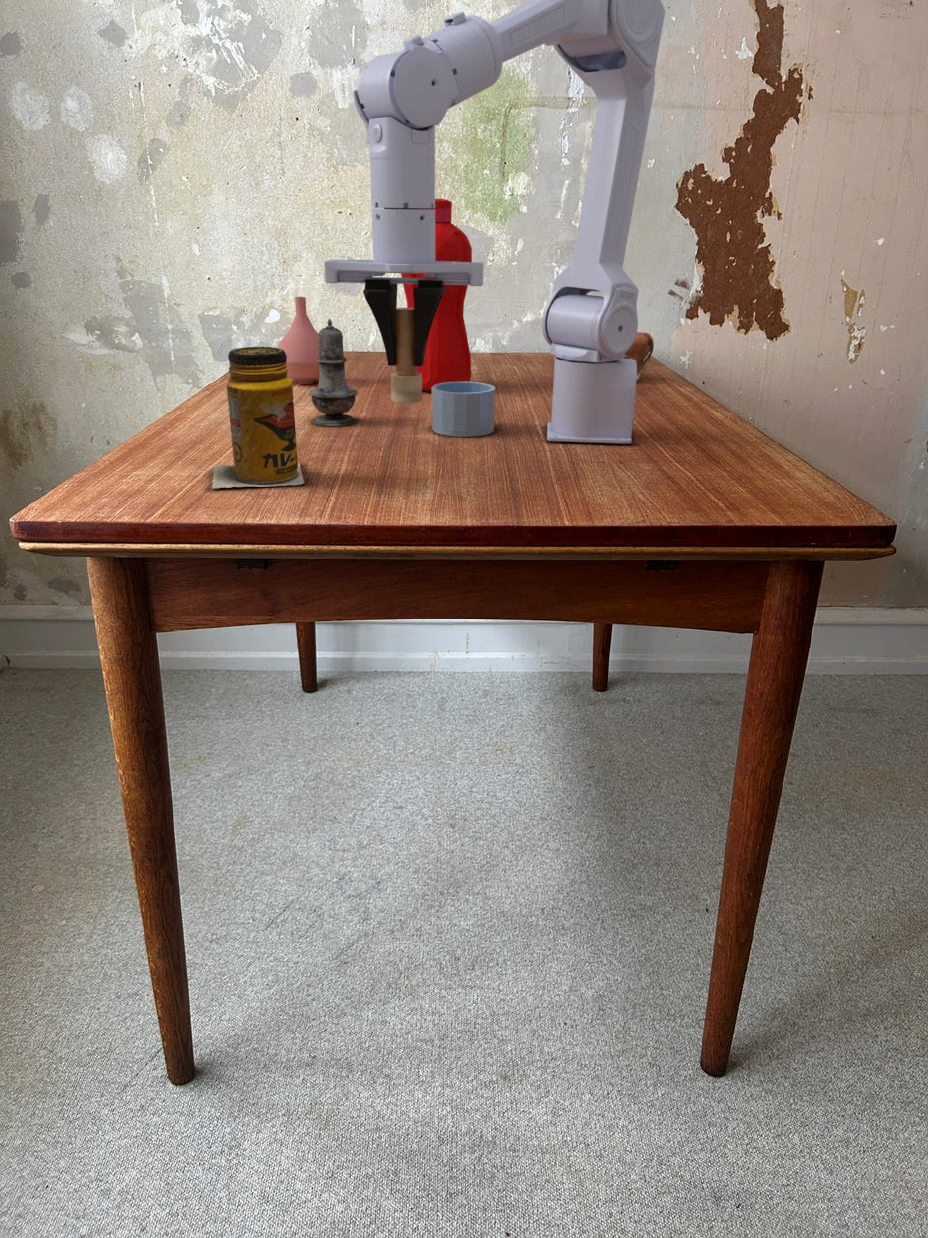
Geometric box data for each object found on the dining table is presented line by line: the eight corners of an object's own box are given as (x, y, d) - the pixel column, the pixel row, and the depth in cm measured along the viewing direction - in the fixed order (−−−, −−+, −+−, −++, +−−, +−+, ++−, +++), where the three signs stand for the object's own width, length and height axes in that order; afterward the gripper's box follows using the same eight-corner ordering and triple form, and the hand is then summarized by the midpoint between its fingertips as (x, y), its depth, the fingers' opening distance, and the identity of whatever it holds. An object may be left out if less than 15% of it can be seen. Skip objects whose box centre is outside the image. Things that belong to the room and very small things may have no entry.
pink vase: (305, 375, 137) (300, 293, 132) (342, 381, 133) (338, 297, 128) (268, 382, 131) (261, 297, 126) (305, 389, 127) (299, 300, 122)
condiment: (304, 485, 84) (296, 354, 79) (212, 490, 82) (197, 356, 77) (299, 465, 91) (291, 343, 86) (214, 469, 89) (200, 344, 84)
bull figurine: (588, 369, 146) (592, 317, 143) (655, 381, 137) (661, 325, 134) (571, 372, 143) (574, 319, 140) (638, 384, 135) (643, 328, 131)
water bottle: (484, 384, 133) (489, 199, 122) (444, 395, 124) (445, 198, 114) (433, 377, 137) (433, 198, 127) (391, 388, 129) (387, 197, 118)
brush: (423, 397, 88) (423, 307, 85) (419, 403, 86) (419, 310, 82) (393, 396, 88) (391, 306, 85) (389, 402, 86) (386, 310, 82)
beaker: (495, 423, 109) (496, 382, 107) (492, 438, 102) (493, 394, 100) (435, 421, 110) (435, 380, 107) (428, 435, 103) (428, 392, 101)
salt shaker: (350, 428, 106) (345, 322, 101) (303, 425, 107) (296, 320, 102) (364, 417, 111) (361, 316, 106) (320, 415, 112) (314, 315, 107)
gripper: (313, 208, 77) (322, 369, 82) (480, 210, 76) (478, 373, 81) (331, 207, 83) (338, 357, 89) (486, 209, 82) (483, 360, 88)
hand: (405, 364), depth 86 cm, fingers closed on brush, 2 cm apart
